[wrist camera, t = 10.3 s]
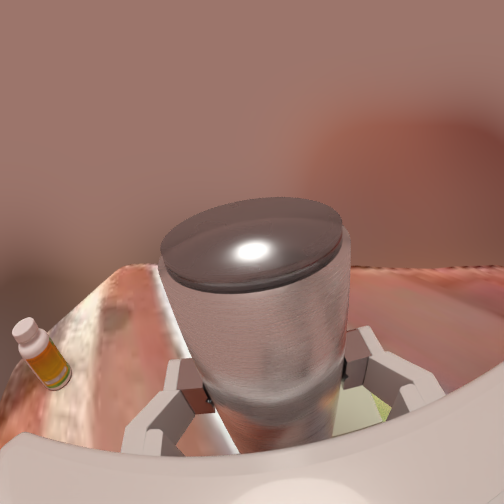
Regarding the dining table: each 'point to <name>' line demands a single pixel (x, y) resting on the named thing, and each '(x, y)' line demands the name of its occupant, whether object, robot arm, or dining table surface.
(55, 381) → the supplement bottle
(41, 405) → the dining table surface
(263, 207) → the canister
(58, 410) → the dining table surface
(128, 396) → the dining table surface
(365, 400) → the beige block
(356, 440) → the robot arm
